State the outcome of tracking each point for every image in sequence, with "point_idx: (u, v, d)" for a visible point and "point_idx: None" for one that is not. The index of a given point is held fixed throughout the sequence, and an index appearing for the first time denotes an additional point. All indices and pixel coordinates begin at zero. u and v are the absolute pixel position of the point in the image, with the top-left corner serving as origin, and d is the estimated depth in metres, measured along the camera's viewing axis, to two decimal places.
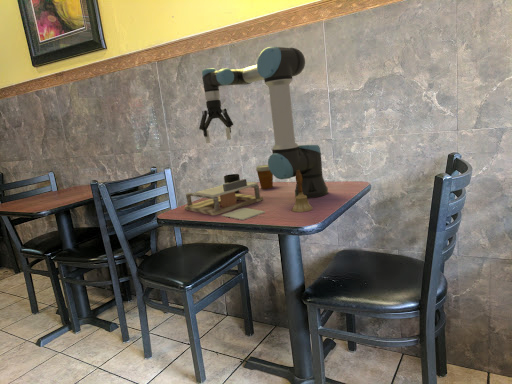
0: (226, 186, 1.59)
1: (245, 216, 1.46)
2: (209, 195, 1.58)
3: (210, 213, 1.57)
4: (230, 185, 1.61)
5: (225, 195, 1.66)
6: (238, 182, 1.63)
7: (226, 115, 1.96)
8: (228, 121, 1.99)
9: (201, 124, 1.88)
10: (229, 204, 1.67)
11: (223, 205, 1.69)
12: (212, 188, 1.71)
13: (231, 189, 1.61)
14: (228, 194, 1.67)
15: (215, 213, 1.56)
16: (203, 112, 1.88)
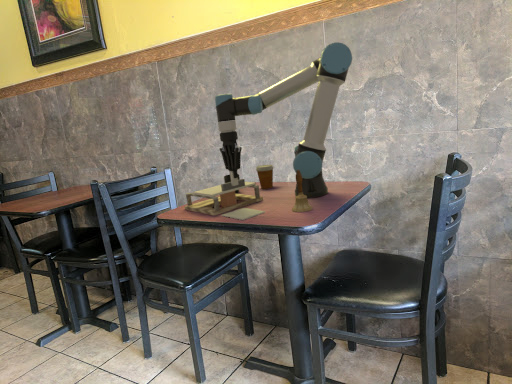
0: (224, 186, 1.60)
1: (245, 216, 1.46)
2: (207, 195, 1.59)
3: (210, 213, 1.57)
4: (228, 185, 1.62)
5: (225, 195, 1.66)
6: None
7: (234, 155, 1.57)
8: None
9: None
10: (229, 204, 1.67)
11: (223, 205, 1.69)
12: (210, 188, 1.72)
13: (229, 189, 1.62)
14: (228, 194, 1.67)
15: (215, 213, 1.56)
16: None
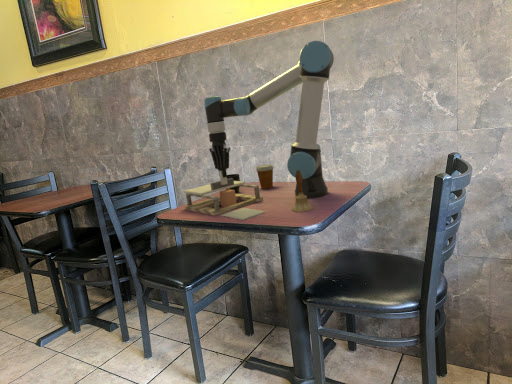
0: (213, 185, 1.67)
1: (245, 216, 1.46)
2: (197, 193, 1.65)
3: (210, 213, 1.57)
4: (217, 184, 1.68)
5: (225, 195, 1.66)
6: None
7: (223, 155, 1.63)
8: None
9: None
10: (229, 204, 1.67)
11: (223, 205, 1.69)
12: (201, 187, 1.78)
13: (218, 188, 1.68)
14: (228, 194, 1.67)
15: (215, 213, 1.56)
16: None
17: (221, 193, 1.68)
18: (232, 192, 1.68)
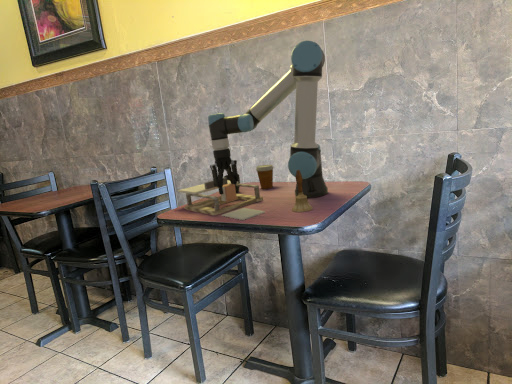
0: (207, 184, 1.70)
1: (245, 216, 1.46)
2: (191, 192, 1.69)
3: (210, 213, 1.57)
4: (211, 183, 1.72)
5: (225, 189, 1.66)
6: None
7: (234, 168, 1.69)
8: (234, 175, 1.71)
9: (215, 181, 1.64)
10: (229, 198, 1.67)
11: None
12: (195, 186, 1.82)
13: (212, 187, 1.72)
14: (228, 188, 1.66)
15: (215, 213, 1.56)
16: (211, 167, 1.63)
17: None
18: (232, 186, 1.67)
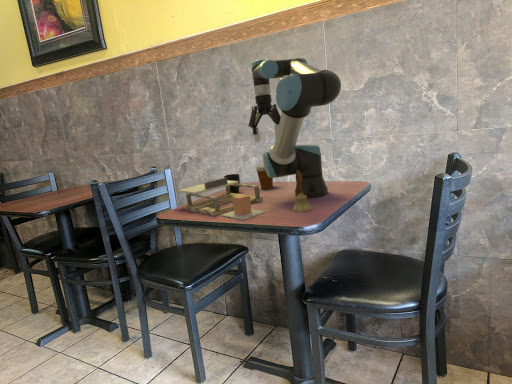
0: (207, 184, 1.70)
1: (245, 216, 1.46)
2: (191, 192, 1.69)
3: (210, 213, 1.57)
4: (211, 183, 1.72)
5: (239, 201, 1.48)
6: (219, 180, 1.75)
7: (276, 111, 1.80)
8: (277, 118, 1.82)
9: (251, 121, 1.71)
10: (243, 211, 1.49)
11: (236, 212, 1.50)
12: (195, 186, 1.82)
13: (212, 187, 1.72)
14: (242, 200, 1.48)
15: (215, 213, 1.56)
16: (253, 108, 1.72)
17: (234, 199, 1.50)
18: (247, 198, 1.49)
